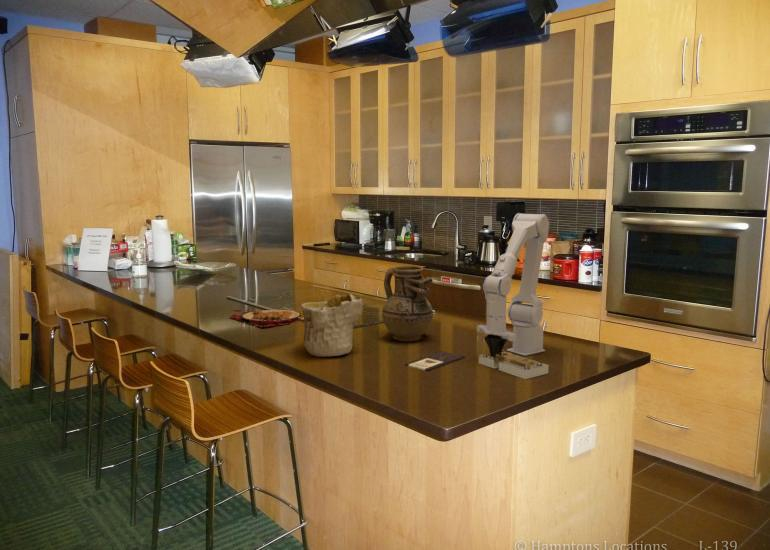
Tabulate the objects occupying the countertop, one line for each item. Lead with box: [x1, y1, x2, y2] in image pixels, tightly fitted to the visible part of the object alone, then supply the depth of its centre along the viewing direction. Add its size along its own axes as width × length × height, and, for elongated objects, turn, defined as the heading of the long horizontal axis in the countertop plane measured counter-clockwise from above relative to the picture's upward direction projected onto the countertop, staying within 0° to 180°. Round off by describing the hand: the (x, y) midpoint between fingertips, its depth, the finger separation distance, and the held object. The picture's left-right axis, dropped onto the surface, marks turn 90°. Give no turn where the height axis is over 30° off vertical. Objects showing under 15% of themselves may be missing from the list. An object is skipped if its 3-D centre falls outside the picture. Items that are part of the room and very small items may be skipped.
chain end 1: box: [478, 349, 513, 369], centre depth 188 cm, size 9×6×3 cm
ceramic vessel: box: [300, 293, 364, 358], centre depth 201 cm, size 21×22×23 cm
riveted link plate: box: [496, 351, 536, 367], centre depth 183 cm, size 4×12×4 cm, turn 34°
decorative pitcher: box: [381, 265, 434, 342], centre depth 217 cm, size 22×18×25 cm
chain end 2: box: [498, 360, 549, 380], centre depth 179 cm, size 9×10×3 cm
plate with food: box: [229, 309, 304, 328], centre depth 252 cm, size 25×26×4 cm
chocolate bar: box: [404, 351, 465, 372], centre depth 190 cm, size 9×1×18 cm
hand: (495, 359), depth 189 cm, fingers closed
